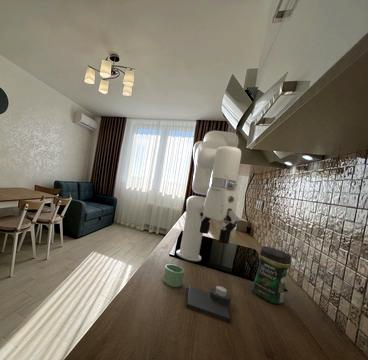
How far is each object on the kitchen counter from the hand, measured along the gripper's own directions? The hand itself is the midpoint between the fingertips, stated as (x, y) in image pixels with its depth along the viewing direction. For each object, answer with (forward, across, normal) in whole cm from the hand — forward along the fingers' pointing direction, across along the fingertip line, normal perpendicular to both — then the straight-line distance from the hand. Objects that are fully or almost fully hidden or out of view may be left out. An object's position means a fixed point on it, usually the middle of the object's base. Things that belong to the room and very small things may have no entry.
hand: (213, 237), depth 69 cm
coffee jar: (+21, +3, -31) cm, 37 cm away
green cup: (+21, +11, +5) cm, 25 cm away
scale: (+21, -1, -1) cm, 21 cm away
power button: (+19, 0, -7) cm, 20 cm away
